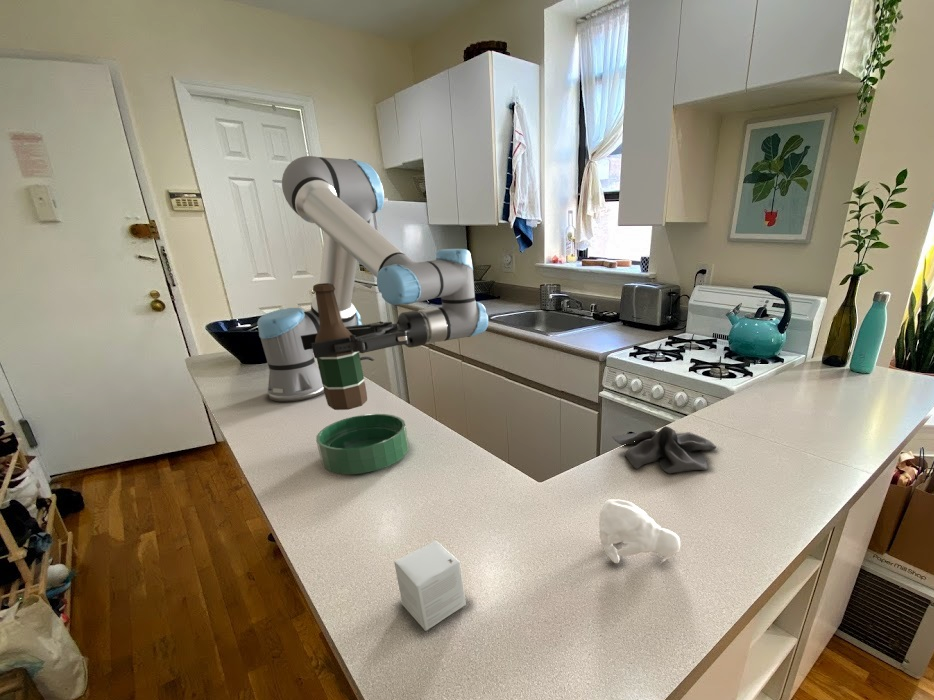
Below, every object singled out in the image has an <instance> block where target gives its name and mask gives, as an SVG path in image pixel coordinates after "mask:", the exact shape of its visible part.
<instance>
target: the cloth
mask: <svg viewBox="0 0 934 700" xmlns="http://www.w3.org/2000/svg"><path fill="white" fill-rule="evenodd" d="M611 437H612V439H613V440H614V441H615V442H616V443H617V444H619V445H621V446H627V445H634V446H632V447H630V448H628V449H627V450H626V451H625V452H624V457H626V458H627V459H628V462H630V464H631V465H632V467H633V468H634V469H636V470H638V469H640V468H641V467H642V466H643V465H647V464H650V463H653V462H657V461H659V467H660V469H661V470H663V471H664V472H666V473H667V474H674V473H681V472H689V471H705V470H708V462H707V459H706V456H705V455H704V454H703V453H702V452H701V451H703V452H704V451H714V450H715V449H716V448H717V445H716V444H715V443H713V442H712V441H711V440H709V439H707V438H705V437H703V436H700V435H698V434H695V433H692V432H690V431H687V432H684V433H677V432H676V430H675V429H673V428H671V427H670V426H667V425H665V426H663V427H661V428H660V429H659V430H658V431H657V430H653V429H647V430H644V431H642V432H632V433H626V434H617V435H613V436H611ZM634 441H635V442H634Z"/></svg>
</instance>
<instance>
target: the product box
mask: <svg viewBox="0 0 934 700" xmlns="http://www.w3.org/2000/svg"><path fill="white" fill-rule="evenodd" d="M393 563H394V564H393V565H394V568H395V574H396V580H397V584H398V591H399V596H400V599H401V605H402V606H403V607H404V608H405V609H406V611H407V612H408V613H409V614H410V615H411V616H412V618H413V619H414V620H415V621H416V622H417V623H418V625H420V627H421V628H422V629H423V630H424V631H425V632H427V631H429V630H430V629H431V628H433V627H434V626H436V625H437V624H439V623H441V622H442V621H443V620H445V619H447V618H448V617H449V616H451V615H453V614H454V613H455V612H457V611H459V610H460V609H462V608H463V607H465V606H466V605H467V602H466V596H465V589H464V582H463V572H462V565H461V561H460V560H458V558H457V557H456V556H454V555H453V554H452V553H451V552H449V550H447V549H446V548H445V547H444V546H443V545H442V544H441V543H439V542H438V541H437V540H433V541H431V542H429V543H428V544H425V545H424V546H422V547H420V548H418V549H416V550H414V551H412V552H410V553H408V554H405V555H404V556H402V557H400V558H398V559H396V560H394V561H393Z"/></svg>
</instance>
